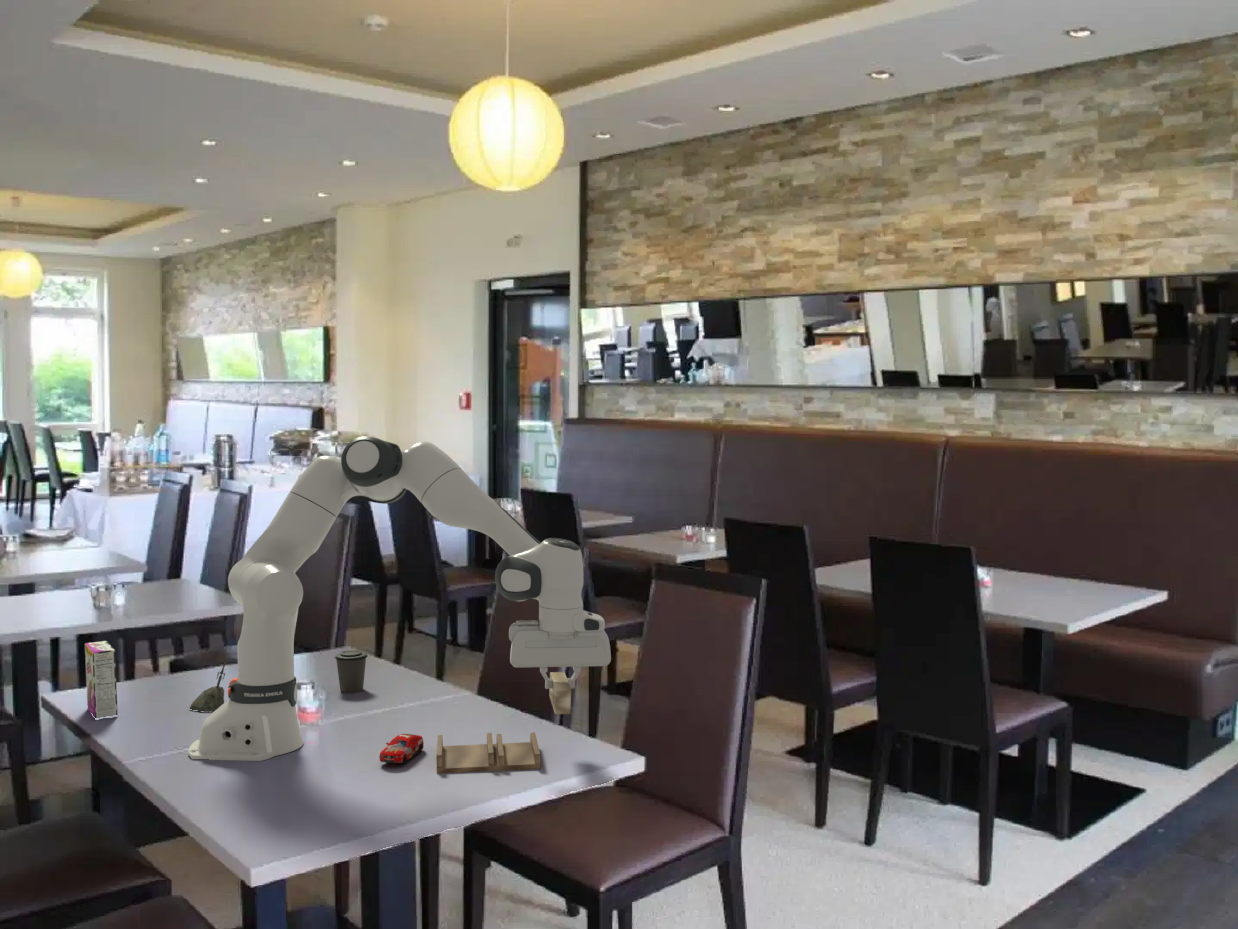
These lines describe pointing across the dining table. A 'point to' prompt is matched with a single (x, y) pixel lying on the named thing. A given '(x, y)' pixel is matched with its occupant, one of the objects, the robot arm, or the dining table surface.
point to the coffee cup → (351, 670)
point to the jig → (488, 756)
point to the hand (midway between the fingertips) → (560, 688)
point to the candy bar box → (101, 679)
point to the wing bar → (560, 693)
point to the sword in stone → (210, 697)
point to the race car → (402, 748)
